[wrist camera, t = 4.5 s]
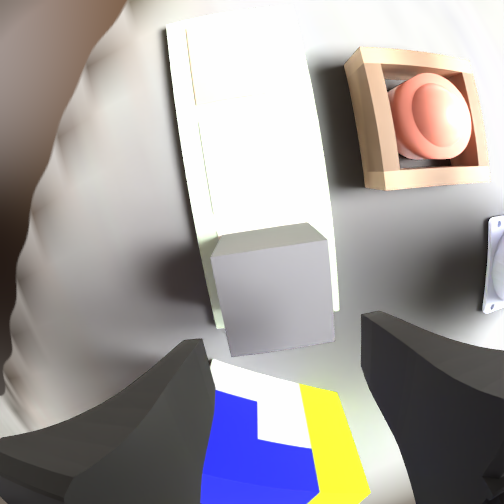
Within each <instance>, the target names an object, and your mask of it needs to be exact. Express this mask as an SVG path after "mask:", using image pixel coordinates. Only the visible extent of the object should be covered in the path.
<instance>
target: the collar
mask: <svg viewBox="0 0 504 504" xmlns="http://www.w3.org/2000/svg"><path fill="white" fill-rule="evenodd" d="M344 68H345V72H346V77H347V81H348V86H349V91H350V95H351V100H352V105H353V111H354V116H355V121H356V127H357V133H358V139H359V146H360V152H361V159H362V166H363V174H364V182H365V188H370V189H377V190H384V191H389V190H398V189H409V188H419V187H430V186H442V185H454V184H467V183H482V182H490V170H489V159H488V150H487V142H486V135H485V129H484V123H483V117H482V112H481V107H480V102H479V97H478V93H477V88H476V84H475V80H474V76H473V73H472V69H471V65H470V62H469V60H467V59H462V58H457V57H452V56H446V55H440V54H434V53H427V52H420V51H411V50H402V49H390V48H375V47H359V48H358V49H357V50H356V51H355V53H354V54H353V55H352V56H351V57H350V58H349V60H348V61H347V62H346V63H345V64H344ZM421 73H433V74H437V75H440V76H442V77H444V78H445V79H447V80H448V81H450V82H451V83H452V84H453V85H454V86H455V87H456V88H457V89H458V91H459V92H460V93H461V95H462V96H463V98H464V100H465V102H466V104H467V106H468V109H469V113H470V117H471V135H470V139H469V142H468V144H467V146H466V148H465V149H464V150H463V151H462V152H461V153H460V154H459V155H457V156H455V157H453V158H450V160H451V166H434V167H416V168H402V169H400V165H399V157H398V150H397V143H396V136H395V130H394V124H393V119H392V113H391V108H390V103H389V98H388V93H387V89H386V84H385V80H384V79H392V80H409V79H411V78H413V77H414V76H416V75H418V74H421Z"/></svg>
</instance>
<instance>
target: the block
mask: <svg viewBox="0 0 504 504" xmlns="http://www.w3.org/2000/svg"><path fill="white" fill-rule="evenodd" d="M210 258H211V263H212V268H213V273H214V278H215V283H216V288H217V293H218V298H219V303H220V307H221V312H222V317H223V321H224V326H225V330H226V335H227V339H228V344H229V348H230V353H231V357H236V356H244V355H252V354H260V353H268V352H275V351H282V350H288V349H295V348H301V347H307V346H313V345H318V344H324V343H329V342H335V332H334V313H333V297H332V283H331V270H330V259H329V248H328V239H326V238H325V237H324V236H323V235H322V234H321V233H320V232H319V231H318V230H316V229H315V228H314V227H313V226H312V225H311V224H310V223H308V222H304V223H297V224H290V225H283V226H277V227H270V228H263V229H257V230H250V231H244V232H237V233H231V234H224V235H222V236H221V238H220V240H219V242H218V244H217V245H216V247H215V249H214V251H213V253H212V255H211V257H210Z"/></svg>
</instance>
